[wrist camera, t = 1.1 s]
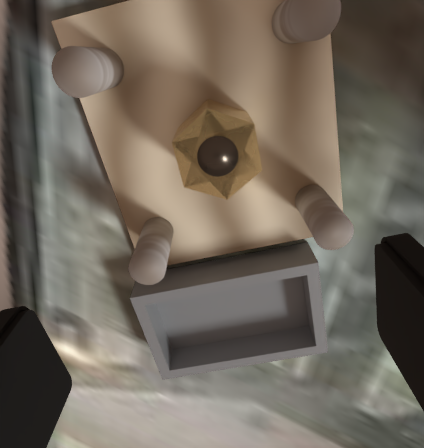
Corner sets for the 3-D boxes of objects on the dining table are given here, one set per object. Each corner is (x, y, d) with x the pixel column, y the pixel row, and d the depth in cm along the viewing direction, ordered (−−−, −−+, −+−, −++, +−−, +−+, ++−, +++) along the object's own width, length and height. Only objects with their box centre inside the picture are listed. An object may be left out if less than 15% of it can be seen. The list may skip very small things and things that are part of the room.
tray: (307, 241, 32) (318, 262, 29) (317, 326, 36) (328, 352, 33) (137, 275, 33) (129, 298, 30) (166, 352, 38) (162, 379, 34)
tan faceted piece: (243, 90, 25) (250, 98, 21) (256, 169, 28) (266, 192, 23) (172, 106, 26) (164, 118, 21) (192, 183, 28) (189, 208, 24)
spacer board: (320, -48, 23) (362, -88, 16) (340, 225, 31) (373, 269, 25) (57, 22, 24) (3, 11, 18) (144, 264, 33) (128, 314, 26)
